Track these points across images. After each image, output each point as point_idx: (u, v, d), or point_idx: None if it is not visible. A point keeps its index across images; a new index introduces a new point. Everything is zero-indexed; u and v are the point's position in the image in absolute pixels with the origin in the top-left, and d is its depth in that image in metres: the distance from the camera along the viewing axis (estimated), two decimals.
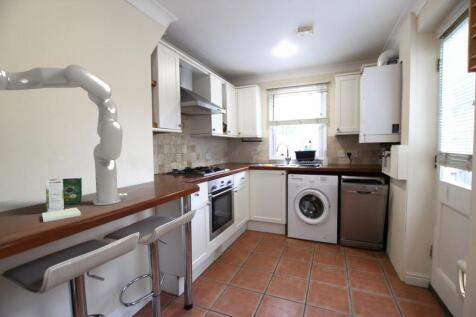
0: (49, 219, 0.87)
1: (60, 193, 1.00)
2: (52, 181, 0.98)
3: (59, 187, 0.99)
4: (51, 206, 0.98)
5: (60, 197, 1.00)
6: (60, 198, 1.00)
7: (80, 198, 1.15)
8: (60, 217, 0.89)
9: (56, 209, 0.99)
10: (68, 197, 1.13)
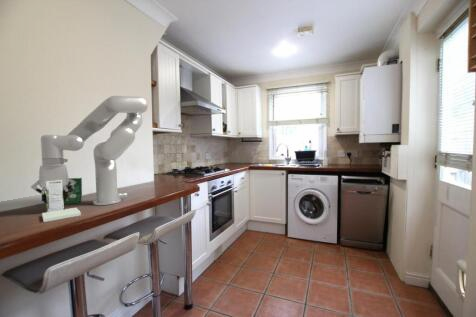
0: (49, 219, 0.87)
1: (60, 193, 1.00)
2: (52, 181, 0.98)
3: (59, 187, 0.99)
4: (51, 206, 0.98)
5: (60, 197, 1.00)
6: (60, 198, 1.00)
7: (80, 198, 1.15)
8: (60, 217, 0.89)
9: (56, 209, 0.99)
10: (68, 197, 1.13)
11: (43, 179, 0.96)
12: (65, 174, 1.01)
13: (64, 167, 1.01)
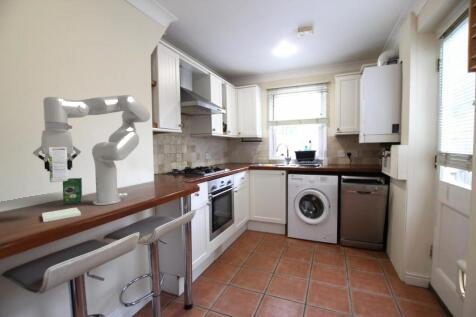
0: (49, 219, 0.87)
1: (64, 161, 0.92)
2: (56, 147, 0.90)
3: (63, 154, 0.91)
4: (55, 175, 0.90)
5: (64, 165, 0.92)
6: (64, 167, 0.92)
7: (80, 198, 1.15)
8: (60, 217, 0.89)
9: (60, 178, 0.91)
10: (68, 197, 1.13)
11: (46, 144, 0.88)
12: (70, 141, 0.93)
13: (68, 133, 0.93)
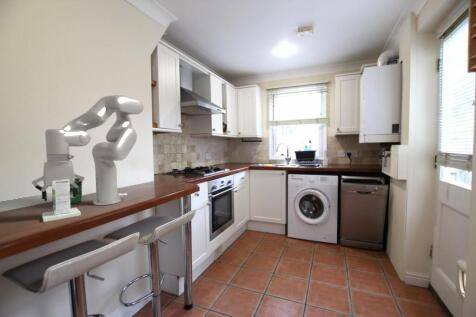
0: (49, 219, 0.87)
1: (67, 193, 0.93)
2: (59, 181, 0.91)
3: (66, 187, 0.92)
4: (58, 208, 0.91)
5: (67, 198, 0.93)
6: (67, 199, 0.93)
7: (80, 198, 1.15)
8: (60, 217, 0.89)
9: (63, 211, 0.92)
10: None
11: (48, 176, 0.89)
12: (71, 171, 0.94)
13: (70, 164, 0.94)
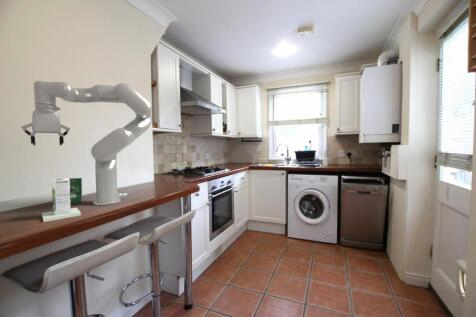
0: (49, 219, 0.87)
1: (67, 193, 0.93)
2: (59, 181, 0.91)
3: (66, 187, 0.92)
4: (58, 208, 0.91)
5: (67, 198, 0.93)
6: (67, 199, 0.93)
7: (80, 198, 1.15)
8: (60, 217, 0.89)
9: (63, 211, 0.92)
10: None
11: (36, 123, 1.00)
12: (57, 121, 1.05)
13: (56, 114, 1.05)
